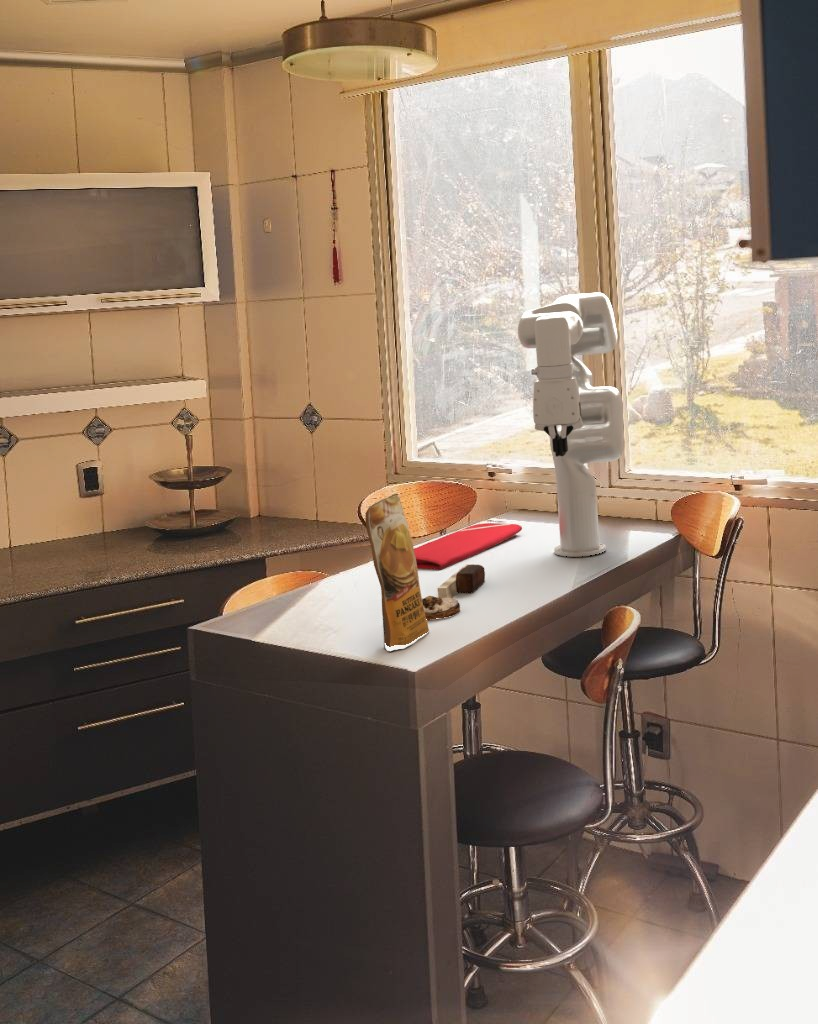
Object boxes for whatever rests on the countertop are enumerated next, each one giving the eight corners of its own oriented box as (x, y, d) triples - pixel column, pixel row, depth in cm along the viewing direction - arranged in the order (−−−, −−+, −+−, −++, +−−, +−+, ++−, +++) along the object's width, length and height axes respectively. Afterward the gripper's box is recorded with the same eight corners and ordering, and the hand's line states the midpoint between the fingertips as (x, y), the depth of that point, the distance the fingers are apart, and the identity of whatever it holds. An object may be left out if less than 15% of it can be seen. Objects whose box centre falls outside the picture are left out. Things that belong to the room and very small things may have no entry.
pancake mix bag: (365, 654, 226) (351, 508, 221) (408, 626, 243) (396, 489, 238) (398, 656, 223) (384, 508, 219) (438, 627, 240) (427, 489, 235)
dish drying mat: (389, 568, 300) (387, 553, 299) (474, 534, 333) (473, 521, 332) (441, 572, 291) (440, 557, 290) (524, 537, 324) (523, 523, 323)
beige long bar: (466, 576, 281) (465, 564, 281) (475, 576, 281) (474, 564, 280) (438, 601, 261) (437, 588, 260) (447, 601, 260) (446, 588, 260)
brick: (474, 594, 265) (472, 573, 264) (456, 594, 266) (455, 573, 266) (486, 582, 275) (484, 562, 274) (469, 582, 276) (467, 562, 276)
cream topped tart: (406, 605, 261) (404, 587, 261) (473, 605, 257) (471, 586, 256) (386, 624, 248) (384, 605, 247) (456, 624, 243) (454, 604, 242)
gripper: (517, 376, 263) (523, 459, 267) (584, 373, 257) (590, 457, 261) (526, 372, 270) (532, 453, 273) (592, 368, 264) (597, 451, 268)
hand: (560, 455), depth 267 cm, fingers closed
